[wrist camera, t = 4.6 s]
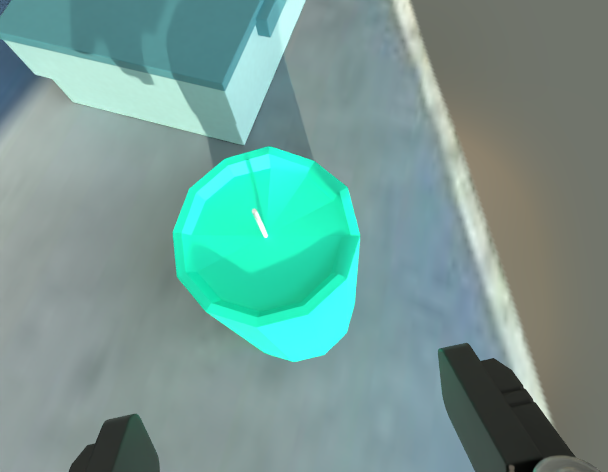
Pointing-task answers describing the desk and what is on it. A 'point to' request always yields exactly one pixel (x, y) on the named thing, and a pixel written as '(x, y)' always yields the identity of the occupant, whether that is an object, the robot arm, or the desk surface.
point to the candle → (271, 251)
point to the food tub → (158, 56)
